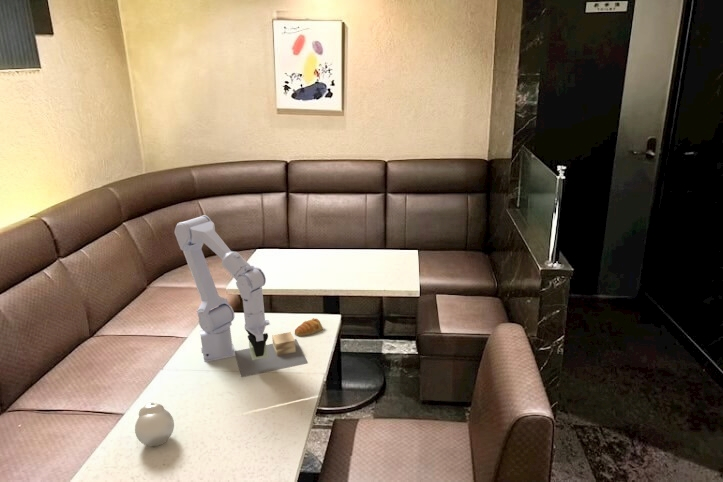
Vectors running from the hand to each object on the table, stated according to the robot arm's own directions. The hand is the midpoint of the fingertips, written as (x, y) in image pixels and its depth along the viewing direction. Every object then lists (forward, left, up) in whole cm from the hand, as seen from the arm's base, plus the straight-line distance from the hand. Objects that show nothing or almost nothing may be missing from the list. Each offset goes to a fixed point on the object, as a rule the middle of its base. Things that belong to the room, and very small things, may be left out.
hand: (258, 351), depth 159 cm
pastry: (+20, +17, -6) cm, 27 cm away
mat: (+4, +5, -6) cm, 9 cm away
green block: (0, 0, -1) cm, 1 cm away
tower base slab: (+9, +8, -5) cm, 13 cm away
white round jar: (-29, -23, -6) cm, 37 cm away
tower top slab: (+9, +8, -3) cm, 12 cm away
